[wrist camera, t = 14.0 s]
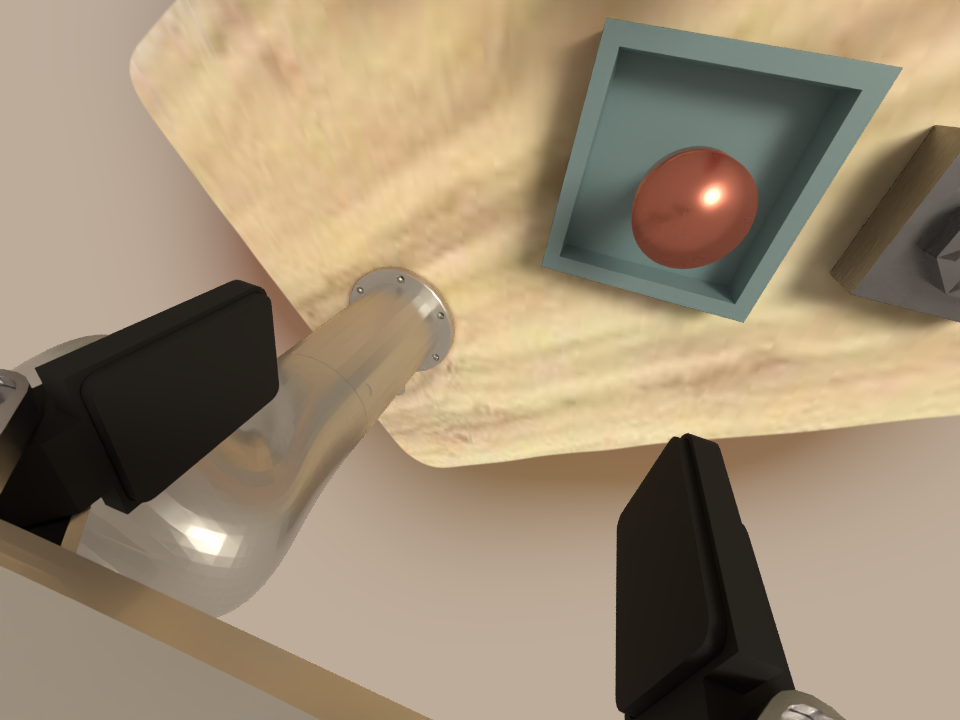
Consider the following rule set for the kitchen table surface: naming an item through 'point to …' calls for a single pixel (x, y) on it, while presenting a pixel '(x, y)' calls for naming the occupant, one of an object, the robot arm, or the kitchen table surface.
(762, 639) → the robot arm
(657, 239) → the rounded copper knob
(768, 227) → the tray
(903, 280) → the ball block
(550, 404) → the kitchen table surface
